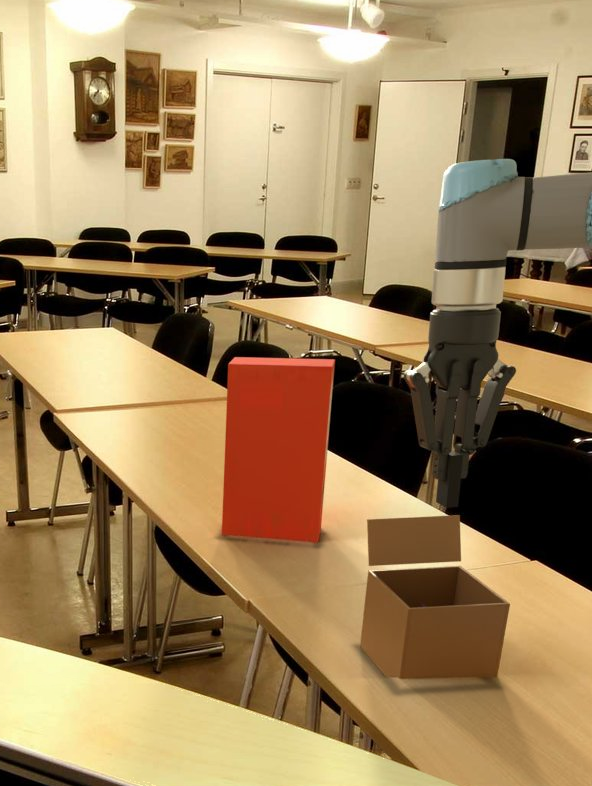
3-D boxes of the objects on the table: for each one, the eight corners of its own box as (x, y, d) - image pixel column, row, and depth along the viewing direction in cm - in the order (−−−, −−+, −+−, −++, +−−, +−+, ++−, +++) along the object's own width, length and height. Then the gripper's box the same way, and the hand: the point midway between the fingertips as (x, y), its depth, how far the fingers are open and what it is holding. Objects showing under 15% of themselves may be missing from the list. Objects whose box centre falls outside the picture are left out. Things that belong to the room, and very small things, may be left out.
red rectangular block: (228, 523, 176) (235, 356, 163) (320, 531, 170) (335, 358, 158) (221, 538, 169) (228, 364, 156) (317, 546, 163) (332, 367, 151)
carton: (359, 646, 126) (368, 570, 122) (449, 641, 127) (460, 565, 123) (397, 691, 115) (408, 609, 110) (495, 685, 115) (510, 603, 111)
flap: (369, 566, 122) (368, 565, 122) (461, 561, 123) (460, 561, 123) (367, 519, 122) (366, 519, 122) (459, 515, 122) (458, 515, 123)
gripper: (502, 302, 109) (481, 493, 117) (396, 308, 108) (383, 500, 116) (538, 305, 102) (513, 508, 110) (426, 312, 101) (409, 516, 109)
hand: (446, 504), depth 113 cm, fingers closed
